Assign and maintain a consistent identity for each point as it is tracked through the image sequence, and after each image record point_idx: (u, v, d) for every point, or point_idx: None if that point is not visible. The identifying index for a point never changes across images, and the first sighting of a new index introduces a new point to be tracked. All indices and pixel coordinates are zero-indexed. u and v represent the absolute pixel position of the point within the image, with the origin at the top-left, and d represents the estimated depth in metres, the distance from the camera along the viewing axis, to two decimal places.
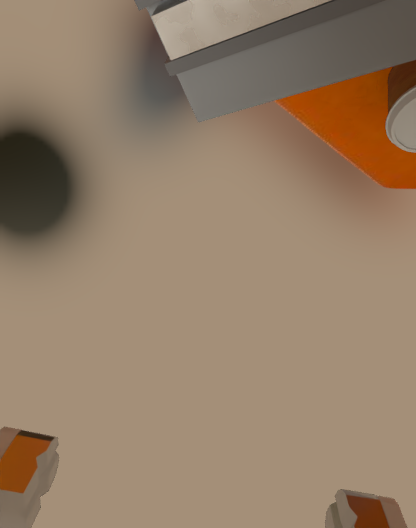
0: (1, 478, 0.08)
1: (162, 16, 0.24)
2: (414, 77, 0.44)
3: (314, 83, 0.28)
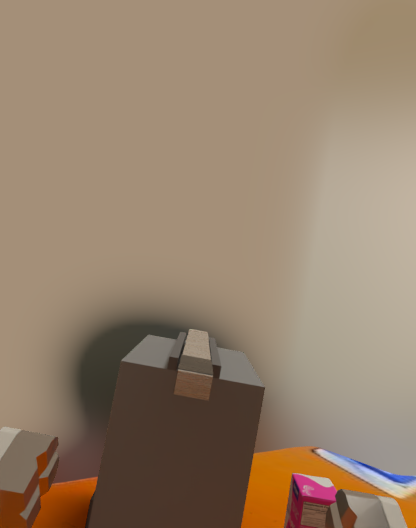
0: (0, 478, 0.08)
1: (206, 332, 0.57)
2: None
3: (140, 346, 0.48)
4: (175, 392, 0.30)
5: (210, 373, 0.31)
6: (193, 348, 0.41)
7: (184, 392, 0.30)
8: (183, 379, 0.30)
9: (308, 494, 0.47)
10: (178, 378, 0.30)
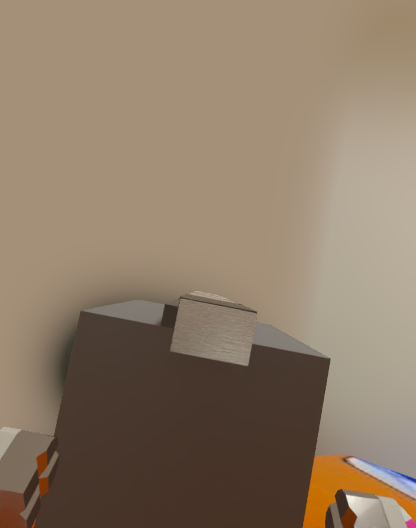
0: (1, 477, 0.08)
1: (219, 295, 0.41)
2: None
3: (122, 304, 0.32)
4: (174, 347, 0.13)
5: (249, 310, 0.14)
6: (205, 296, 0.25)
7: (194, 347, 0.13)
8: (192, 318, 0.14)
9: None
10: (181, 316, 0.13)
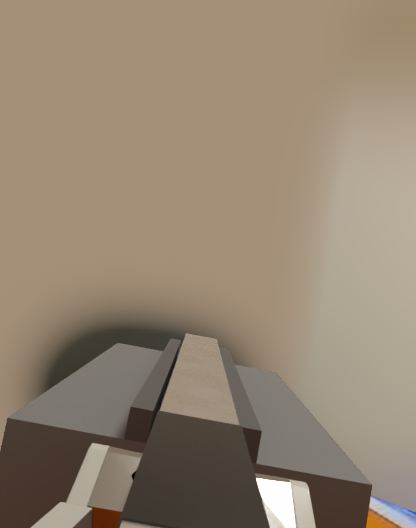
0: (102, 496, 0.08)
1: (214, 339, 0.34)
2: None
3: (88, 368, 0.25)
4: None
5: None
6: (191, 381, 0.18)
7: None
8: None
9: None
10: None
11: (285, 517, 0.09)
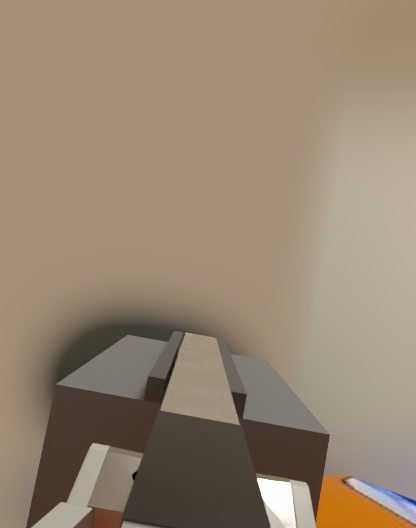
0: (103, 497, 0.08)
1: (213, 338, 0.34)
2: None
3: (107, 353, 0.30)
4: None
5: None
6: (191, 381, 0.18)
7: None
8: None
9: None
10: None
11: (285, 517, 0.09)
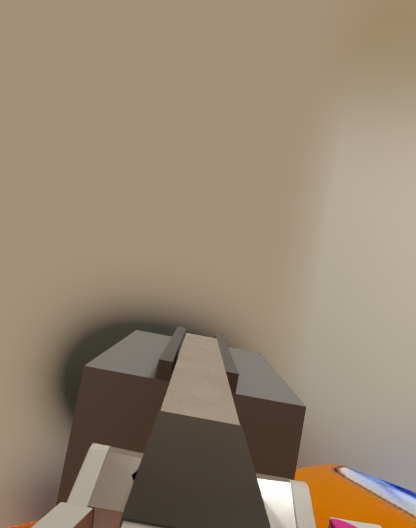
0: (103, 497, 0.08)
1: (214, 339, 0.34)
2: None
3: (121, 344, 0.35)
4: None
5: None
6: (192, 381, 0.18)
7: None
8: None
9: None
10: None
11: (285, 517, 0.09)
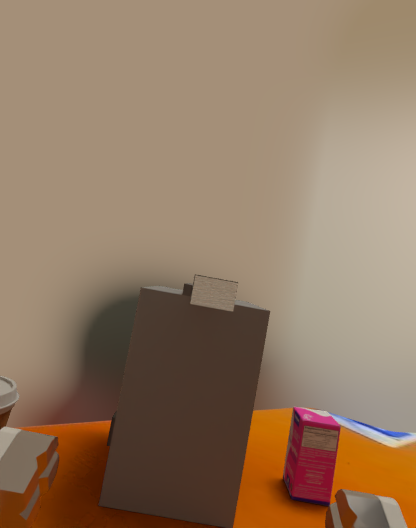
0: (1, 478, 0.08)
1: None
2: None
3: None
4: (192, 301, 0.24)
5: (234, 282, 0.25)
6: None
7: (203, 301, 0.24)
8: (202, 286, 0.24)
9: (308, 419, 0.51)
10: (196, 284, 0.24)
11: None
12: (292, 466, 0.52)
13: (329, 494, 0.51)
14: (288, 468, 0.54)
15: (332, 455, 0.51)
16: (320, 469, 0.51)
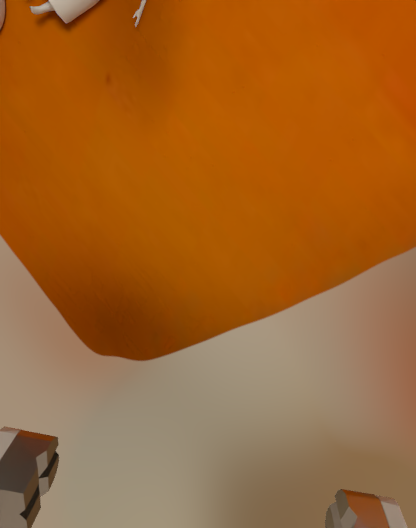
0: (1, 477, 0.08)
1: None
2: None
3: None
4: None
5: None
6: None
7: None
8: None
9: None
10: None
11: None
12: None
13: None
14: None
15: None
16: None
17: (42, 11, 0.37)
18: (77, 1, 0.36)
